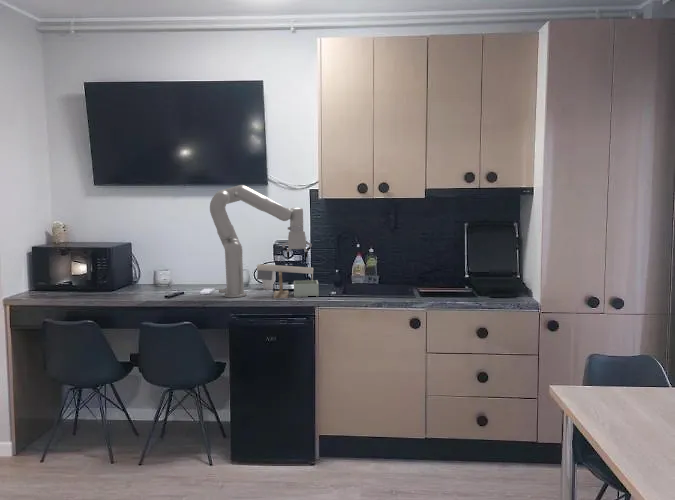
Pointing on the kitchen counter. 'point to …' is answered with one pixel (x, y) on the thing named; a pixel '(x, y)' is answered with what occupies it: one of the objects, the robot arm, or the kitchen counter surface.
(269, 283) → the foam cup
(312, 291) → the cup
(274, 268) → the tipping trough
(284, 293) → the lever stand
